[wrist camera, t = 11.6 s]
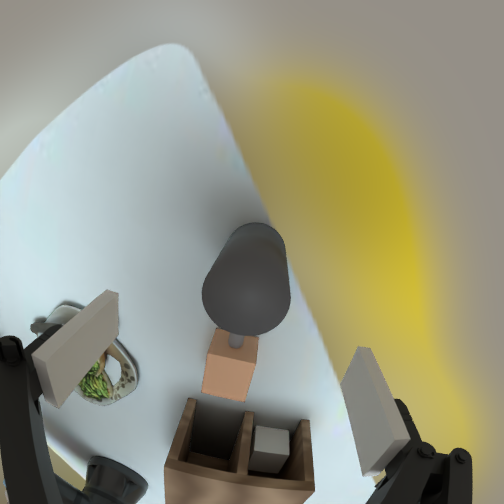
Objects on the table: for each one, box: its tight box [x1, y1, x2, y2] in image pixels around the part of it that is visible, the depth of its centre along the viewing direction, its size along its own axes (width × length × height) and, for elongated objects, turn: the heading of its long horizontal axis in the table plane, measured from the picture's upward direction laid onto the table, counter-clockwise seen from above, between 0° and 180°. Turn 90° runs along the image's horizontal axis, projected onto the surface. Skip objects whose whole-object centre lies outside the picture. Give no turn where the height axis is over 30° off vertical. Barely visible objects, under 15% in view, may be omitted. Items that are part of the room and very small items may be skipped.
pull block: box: [201, 223, 291, 402], centre depth 27 cm, size 6×19×11 cm, turn 168°
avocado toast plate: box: [30, 304, 138, 406], centre depth 35 cm, size 19×18×5 cm
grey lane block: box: [248, 425, 289, 474], centre depth 36 cm, size 5×6×5 cm
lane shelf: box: [164, 398, 315, 504], centre depth 33 cm, size 18×16×12 cm
